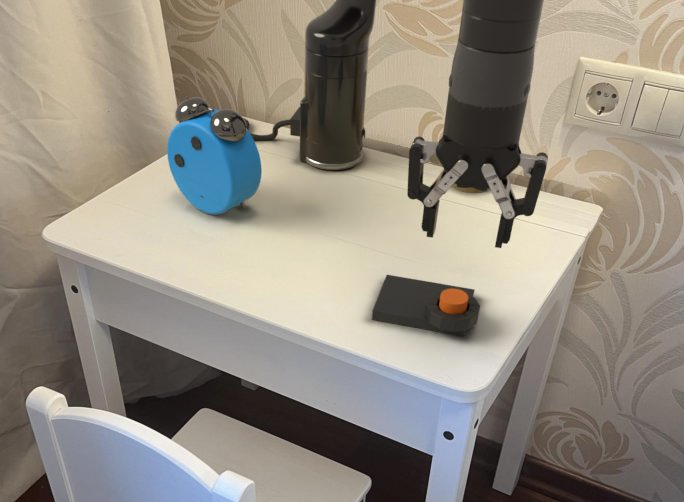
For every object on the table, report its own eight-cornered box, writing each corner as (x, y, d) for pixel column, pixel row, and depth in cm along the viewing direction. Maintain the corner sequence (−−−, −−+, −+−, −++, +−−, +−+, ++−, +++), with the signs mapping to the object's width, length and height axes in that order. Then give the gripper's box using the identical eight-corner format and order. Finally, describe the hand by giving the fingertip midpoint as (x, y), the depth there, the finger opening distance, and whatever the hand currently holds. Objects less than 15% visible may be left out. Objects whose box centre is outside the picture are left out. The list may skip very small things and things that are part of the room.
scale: (369, 326, 98) (370, 305, 96) (385, 283, 104) (387, 263, 102) (472, 345, 95) (476, 324, 93) (482, 300, 102) (486, 279, 100)
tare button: (436, 312, 95) (438, 301, 94) (441, 297, 98) (442, 286, 97) (464, 317, 95) (466, 306, 94) (468, 301, 97) (470, 291, 96)
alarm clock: (264, 213, 118) (262, 110, 108) (234, 230, 114) (229, 125, 104) (199, 184, 124) (192, 84, 114) (169, 199, 120) (158, 98, 110)
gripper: (567, 82, 80) (534, 232, 91) (421, 66, 83) (406, 212, 94) (563, 113, 75) (528, 268, 86) (407, 94, 78) (392, 246, 89)
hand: (464, 238), depth 90 cm, fingers open, 7 cm apart
